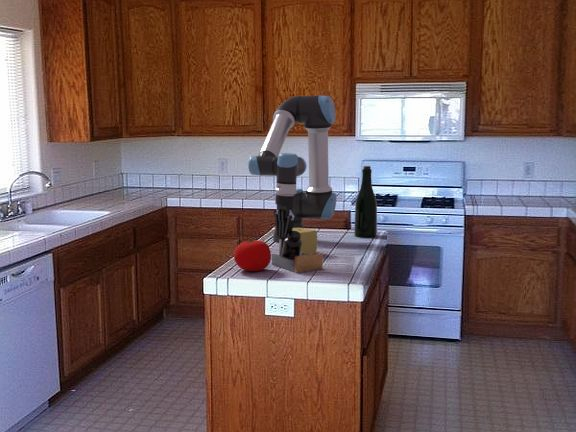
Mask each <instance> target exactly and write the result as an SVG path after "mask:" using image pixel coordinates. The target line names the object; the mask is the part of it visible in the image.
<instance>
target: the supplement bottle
mask: <svg viewBox="0 0 576 432" xmlns="http://www.w3.org/2000/svg"><path fill="white" fill-rule="evenodd" d="M300 237H301V234H300V233H299V232H298V231H289V232H288V236H287V237H286V238H285V239H284V243H283V249H282V254H281V256H283V257H286V258H289V259H292V260H295V256H299V255H300V250H301V245H302V242H301V240H300Z"/></svg>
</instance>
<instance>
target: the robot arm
mask: <svg viewBox="0 0 576 432" xmlns="http://www.w3.org/2000/svg"><path fill="white" fill-rule="evenodd" d="M334 103H335V102H334V101H333V99H332V97H330V96H328V95H294V96H291V97H289V98H288V99H286V100H284V101H283V102H282V103H281V104H279V106H278V107H277V108H276V109H275V111H274V113H273V115H272V124H271V126H270V127H269V130H268V133H267V135H266V137H265V139H264V142H263V144H262V146H261V149H260V151H259V153H258V155H254V156H250V157H249V159H248V164H247V165H248V167H247V168H248V171H249V173H250V175H252V176H253V175H254V176H260V177H261V176H262V177H263V176H267V177H268V176H269V177H273V176H274V177H276V186H275V193H276V195H275V202H274V204H275V205H276V209H275V210H273V216H274V223H275V224H274V225H275V228H274V231H273V233H272V241H273V242H276V243H278V255H280V256H281V254H282V249H283V243H284V239H285V238H286V237H287V236H288V232H289V231H292V229H293V228H304V225H303V219H312V220H313V219H316V220H329V219H331V218H333V216H334V214H335V211H336V205H337V194H336V193H334V192H333V188H332V187H331V186H330V182H329V139H328V138H329V137H328V136H329V130H330V129H331V128H332V124H334V123H335V122H336V108H335V104H334ZM295 124H303V127H304V129H305V130H306V131H307V145H308V150H307V151H308V166H307V162H306V160H305V159H304V158H303V157H301V156H298V155H297V154H296V153H289V152H281V150H282V148H283V144H284V143H285V141H286V138H287V136H288V134H289V131H290V129H291V128H293V127H294V125H295ZM280 152H281V153H280ZM307 167H308V184H309V185H308V186H307V187H306V189H305V191H304V190H303V188H297V178H298V177H299V176H302V175H303V174H304V173H305V172H306V171H307ZM304 229H305V228H304Z"/></svg>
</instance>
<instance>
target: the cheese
mask: <svg viewBox="0 0 576 432" xmlns="http://www.w3.org/2000/svg"><path fill="white" fill-rule="evenodd" d="M292 231H298V232H299V233H300V234H301V237H300V240H301V242H302V245H301V250H300V252H302V253H305V254H308V255H309V254H317V249H318V232H317V230H316V229H309V228H293V229H292Z"/></svg>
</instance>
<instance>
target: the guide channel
mask: <svg viewBox="0 0 576 432" xmlns="http://www.w3.org/2000/svg"><path fill="white" fill-rule="evenodd" d="M323 255H324V254H323V253H322V252H318V253H317V252H316V253H314V254H309V255H308V254H305V253H302V252H300V255H299V256H295V260H292V259H289V258H286V257H283V256H280V255H279V254H278V253H277V254H276V253H271V265H272V266H275V267H277V268H281V269H284V270H285V271H289V272H291V273H294V274H301V273H308V272H315V271H316V272H317V271H322V270H323V263H324V262H323V261H324V260H323V257H324V256H323Z"/></svg>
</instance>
